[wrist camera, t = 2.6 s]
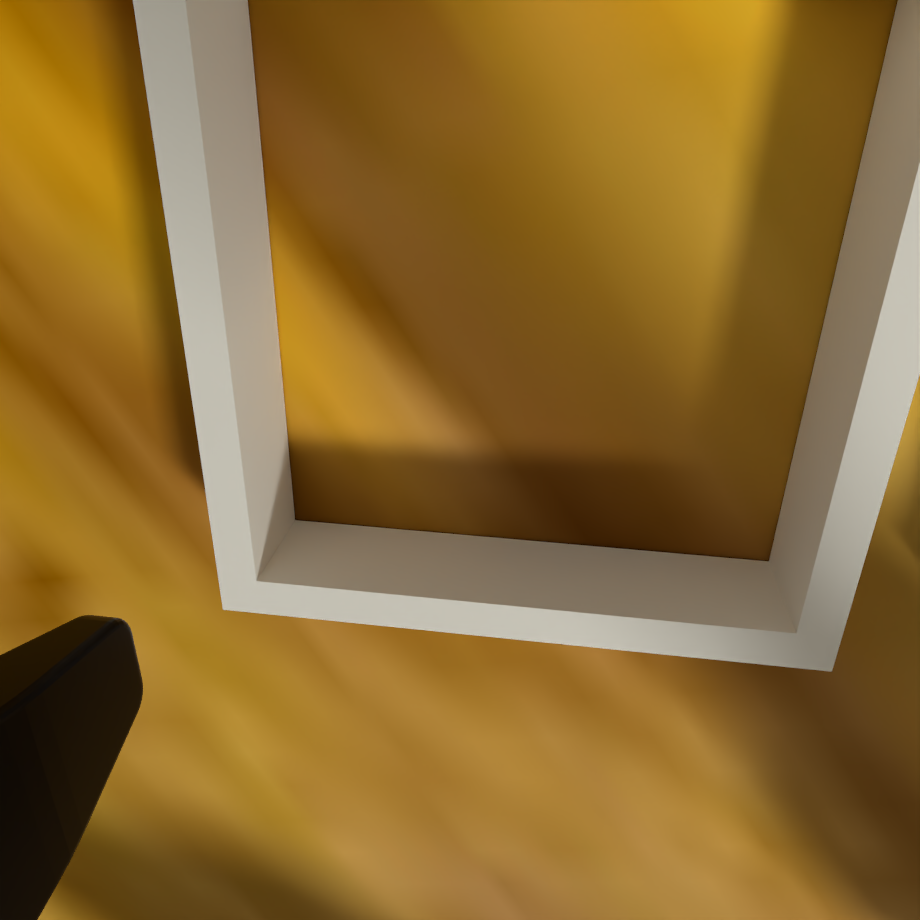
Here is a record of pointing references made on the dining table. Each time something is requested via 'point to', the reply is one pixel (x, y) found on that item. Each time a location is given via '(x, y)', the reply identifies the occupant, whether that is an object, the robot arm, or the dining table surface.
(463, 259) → the dining table surface
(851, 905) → the dining table surface
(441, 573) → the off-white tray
